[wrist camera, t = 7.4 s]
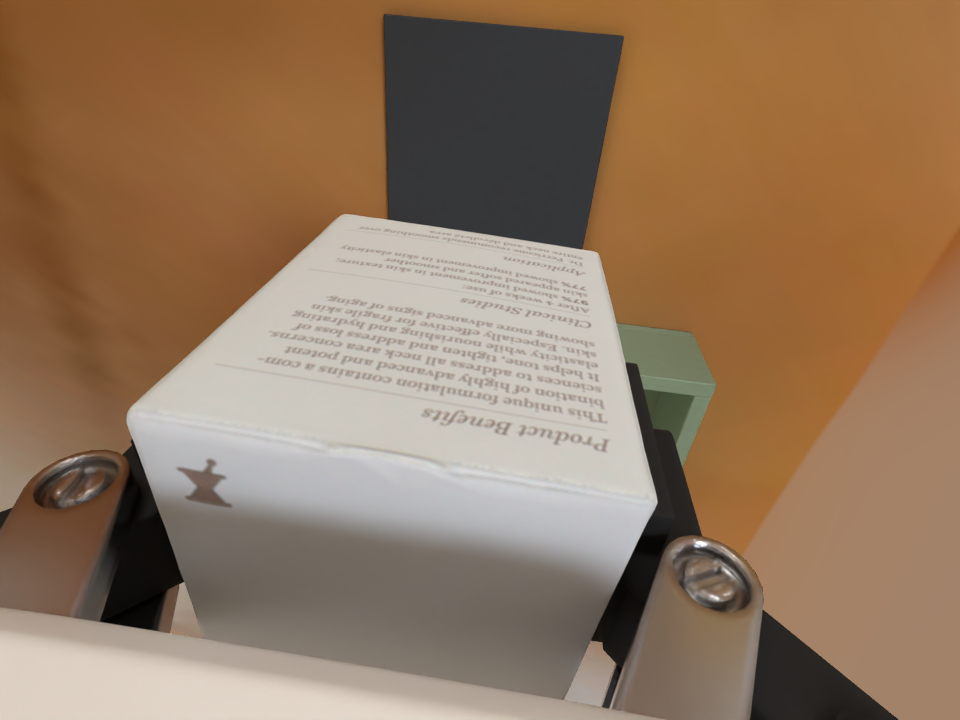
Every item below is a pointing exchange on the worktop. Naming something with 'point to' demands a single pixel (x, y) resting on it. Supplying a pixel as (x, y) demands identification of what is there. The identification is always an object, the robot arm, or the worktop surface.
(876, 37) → the worktop surface
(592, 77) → the mat
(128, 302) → the worktop surface
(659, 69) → the worktop surface
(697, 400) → the green square tray
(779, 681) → the robot arm
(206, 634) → the product box
